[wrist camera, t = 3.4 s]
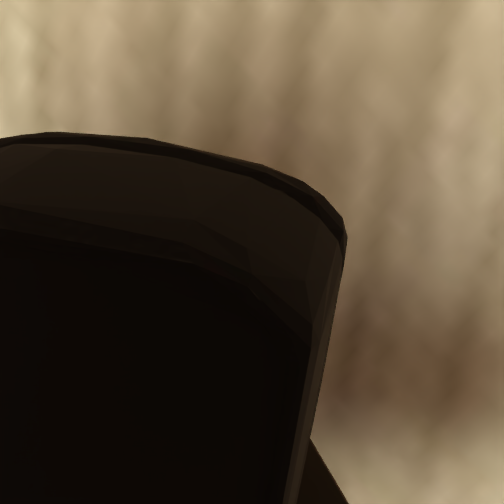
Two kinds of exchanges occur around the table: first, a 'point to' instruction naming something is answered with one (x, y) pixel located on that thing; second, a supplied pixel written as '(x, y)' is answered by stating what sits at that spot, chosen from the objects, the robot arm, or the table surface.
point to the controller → (158, 322)
